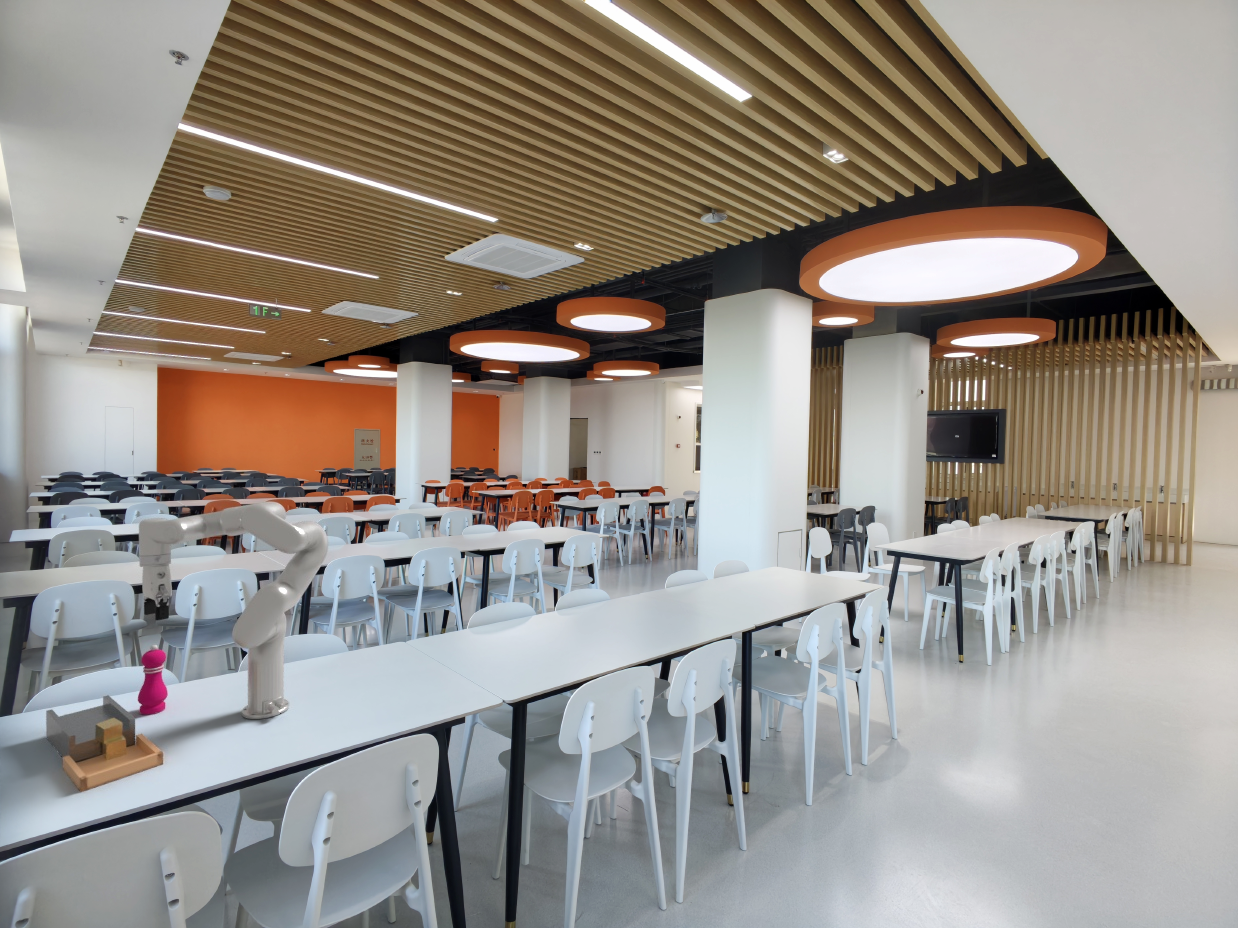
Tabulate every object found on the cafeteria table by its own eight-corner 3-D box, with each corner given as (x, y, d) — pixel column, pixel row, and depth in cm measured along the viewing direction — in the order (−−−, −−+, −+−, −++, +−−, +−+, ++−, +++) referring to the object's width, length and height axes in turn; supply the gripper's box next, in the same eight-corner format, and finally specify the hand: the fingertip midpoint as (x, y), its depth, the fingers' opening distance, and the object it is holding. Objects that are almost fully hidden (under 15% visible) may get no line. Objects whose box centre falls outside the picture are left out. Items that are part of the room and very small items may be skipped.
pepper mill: (151, 716, 181) (153, 649, 180) (131, 714, 182) (132, 647, 182) (173, 706, 188) (175, 642, 188) (153, 704, 189) (154, 640, 189)
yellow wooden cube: (122, 749, 160) (126, 754, 158) (102, 755, 157) (106, 760, 155) (122, 734, 160) (126, 739, 158) (102, 739, 157) (106, 744, 155)
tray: (163, 763, 155) (163, 752, 154) (80, 791, 142) (80, 779, 142) (141, 744, 164) (141, 733, 164) (62, 768, 151) (62, 756, 151)
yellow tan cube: (122, 736, 159) (122, 722, 158) (103, 744, 155) (104, 729, 155) (113, 731, 160) (113, 717, 160) (95, 738, 157) (95, 724, 156)
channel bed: (135, 745, 164) (135, 718, 163) (69, 766, 153) (69, 736, 153) (108, 720, 178) (108, 695, 178) (46, 737, 167) (46, 710, 167)
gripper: (180, 561, 180) (181, 618, 181) (160, 554, 191) (161, 609, 191) (149, 565, 174) (151, 624, 175) (130, 558, 185) (131, 614, 185)
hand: (156, 616), depth 183 cm, fingers open, 9 cm apart
